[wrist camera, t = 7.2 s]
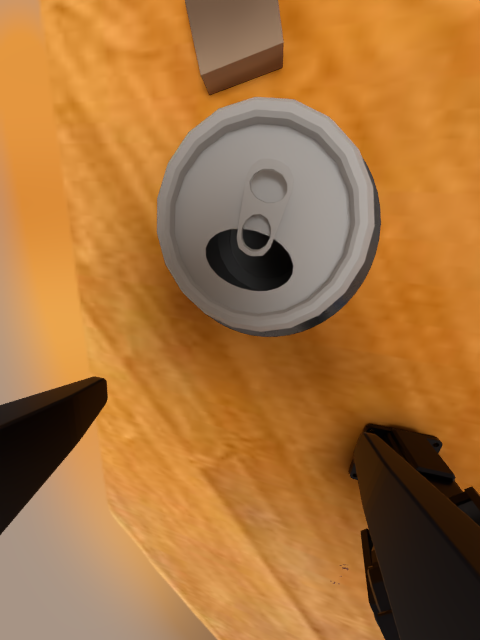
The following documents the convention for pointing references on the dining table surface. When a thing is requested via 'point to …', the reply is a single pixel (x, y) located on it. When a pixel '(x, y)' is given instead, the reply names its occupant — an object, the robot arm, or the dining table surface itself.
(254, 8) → the walnut block
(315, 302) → the can
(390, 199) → the dining table surface
